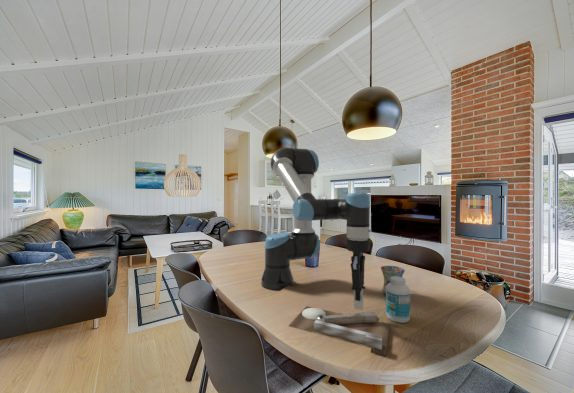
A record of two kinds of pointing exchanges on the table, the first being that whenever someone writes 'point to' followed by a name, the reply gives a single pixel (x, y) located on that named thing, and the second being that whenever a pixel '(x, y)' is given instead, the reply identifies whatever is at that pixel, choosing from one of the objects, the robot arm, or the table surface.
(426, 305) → the table surface
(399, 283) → the pill bottle
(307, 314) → the rest pad
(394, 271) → the mug
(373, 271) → the table surface
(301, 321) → the board
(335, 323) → the tong jaw
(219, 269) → the table surface
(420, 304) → the table surface
